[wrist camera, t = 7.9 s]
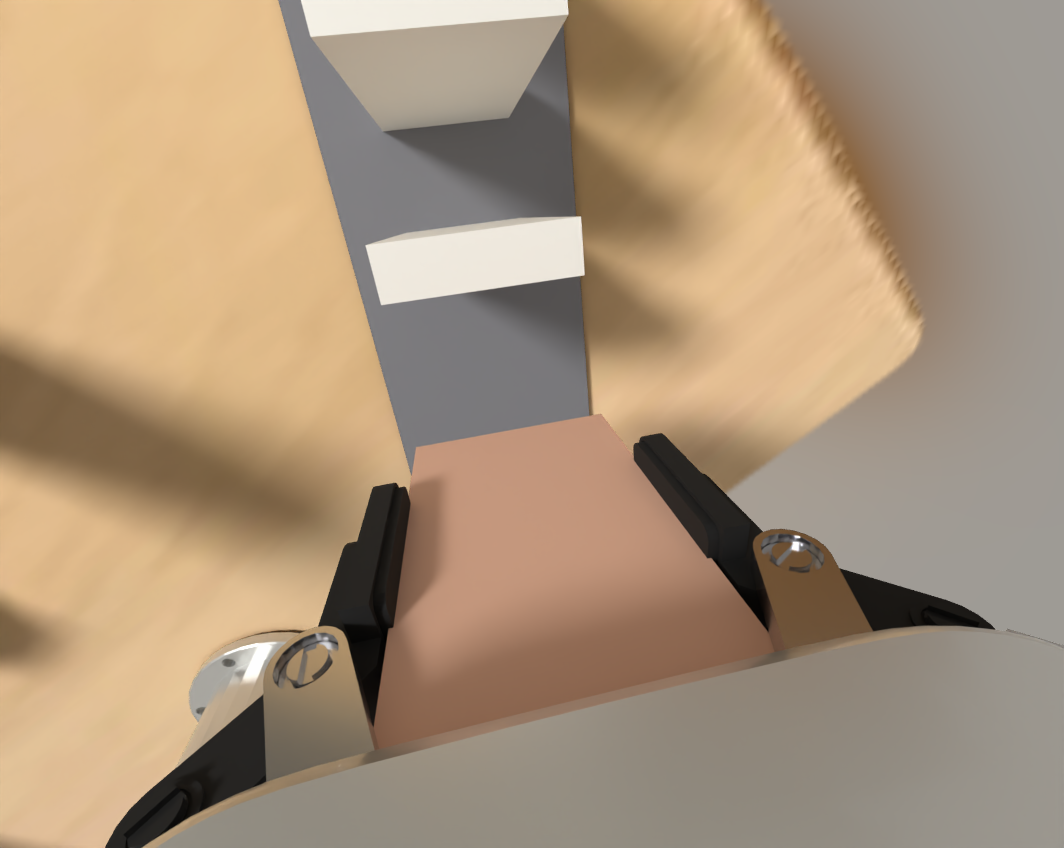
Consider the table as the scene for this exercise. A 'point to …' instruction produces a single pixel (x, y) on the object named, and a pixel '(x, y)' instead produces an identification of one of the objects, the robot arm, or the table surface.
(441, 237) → the domino
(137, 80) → the table surface
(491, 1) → the domino
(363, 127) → the rubber mat
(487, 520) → the domino
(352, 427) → the table surface
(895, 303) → the table surface
